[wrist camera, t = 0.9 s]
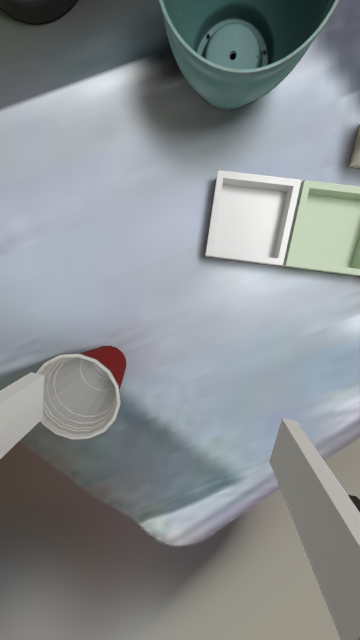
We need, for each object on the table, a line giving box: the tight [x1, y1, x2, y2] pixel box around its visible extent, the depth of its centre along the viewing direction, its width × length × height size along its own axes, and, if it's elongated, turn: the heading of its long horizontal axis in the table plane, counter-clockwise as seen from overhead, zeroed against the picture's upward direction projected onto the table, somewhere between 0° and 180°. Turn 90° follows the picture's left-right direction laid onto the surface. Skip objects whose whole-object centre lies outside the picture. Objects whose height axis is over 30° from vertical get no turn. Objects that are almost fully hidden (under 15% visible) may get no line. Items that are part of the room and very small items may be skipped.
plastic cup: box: [37, 346, 126, 439], centre depth 32 cm, size 11×11×12 cm
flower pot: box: [159, 0, 339, 110], centre depth 24 cm, size 16×16×11 cm
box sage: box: [279, 180, 360, 276], centre depth 31 cm, size 11×11×2 cm
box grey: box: [205, 170, 301, 266], centre depth 31 cm, size 11×11×2 cm
